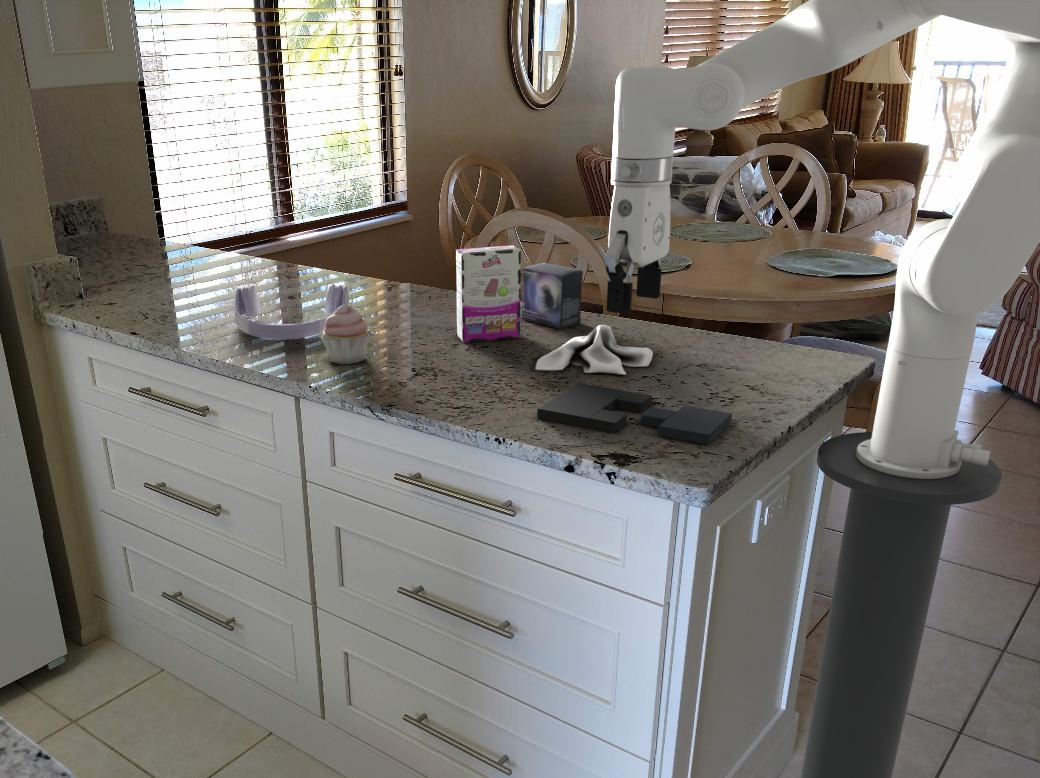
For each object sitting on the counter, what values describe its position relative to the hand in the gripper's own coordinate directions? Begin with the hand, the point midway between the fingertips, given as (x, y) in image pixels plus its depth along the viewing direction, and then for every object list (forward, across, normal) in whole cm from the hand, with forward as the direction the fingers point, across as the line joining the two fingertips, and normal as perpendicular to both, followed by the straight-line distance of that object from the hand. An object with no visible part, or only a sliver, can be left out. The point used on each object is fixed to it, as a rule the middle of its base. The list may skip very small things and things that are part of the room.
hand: (633, 304), depth 133 cm
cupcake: (+17, +6, +55) cm, 58 cm away
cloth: (+18, +28, +18) cm, 37 cm away
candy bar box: (+18, +31, +41) cm, 55 cm away
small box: (+18, +47, +36) cm, 62 cm away
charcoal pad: (+18, +4, -7) cm, 19 cm away
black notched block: (+18, +4, +7) cm, 19 cm away
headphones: (+17, +18, +79) cm, 83 cm away
